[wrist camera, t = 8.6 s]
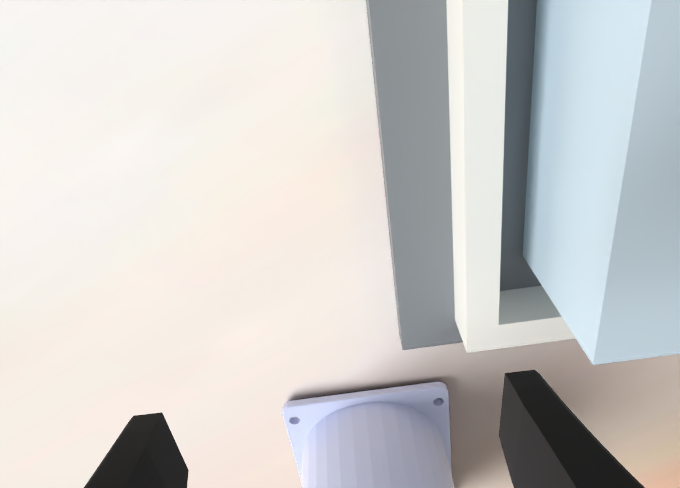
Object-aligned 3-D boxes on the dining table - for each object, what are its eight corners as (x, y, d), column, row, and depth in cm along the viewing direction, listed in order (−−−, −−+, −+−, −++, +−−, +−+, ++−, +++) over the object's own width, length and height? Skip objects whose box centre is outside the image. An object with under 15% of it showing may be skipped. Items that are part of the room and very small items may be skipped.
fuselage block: (625, 241, 20) (731, 347, 15) (522, 255, 20) (592, 364, 15) (691, -136, 14) (908, -173, 9) (543, -113, 14) (673, -135, 9)
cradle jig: (713, 292, 23) (764, 338, 21) (399, 334, 24) (410, 384, 21) (905, -360, 13) (1055, -432, 10) (340, -263, 13) (346, -309, 11)
